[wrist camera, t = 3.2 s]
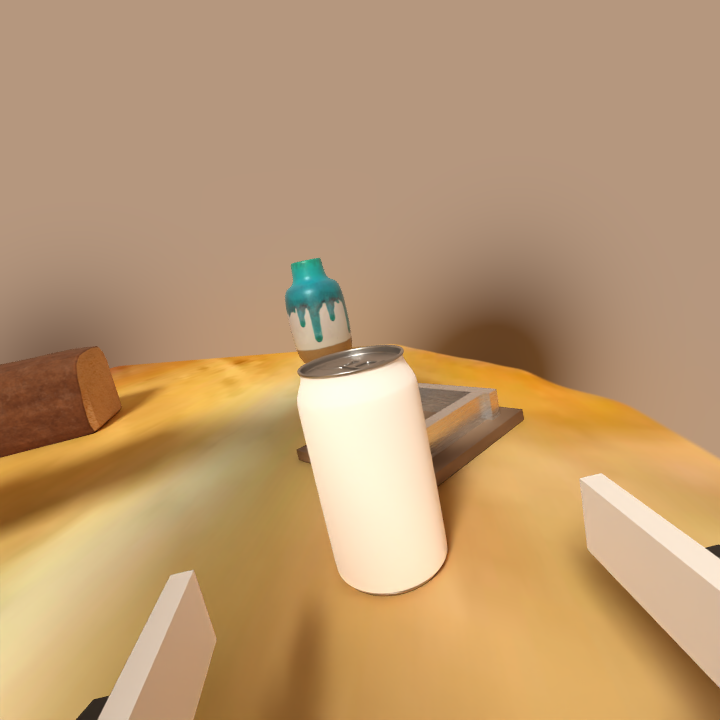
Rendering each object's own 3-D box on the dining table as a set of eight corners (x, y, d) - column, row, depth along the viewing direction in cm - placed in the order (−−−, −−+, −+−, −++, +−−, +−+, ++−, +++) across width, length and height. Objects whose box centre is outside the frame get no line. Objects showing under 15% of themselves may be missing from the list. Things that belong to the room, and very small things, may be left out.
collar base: (298, 459, 42) (296, 449, 42) (402, 404, 52) (400, 395, 51) (419, 500, 31) (417, 487, 31) (523, 419, 40) (522, 409, 40)
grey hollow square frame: (318, 444, 42) (313, 419, 42) (398, 402, 49) (394, 381, 49) (420, 471, 33) (414, 440, 32) (500, 415, 40) (496, 388, 39)
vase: (336, 372, 74) (311, 258, 70) (289, 375, 80) (263, 269, 76) (367, 355, 83) (346, 252, 79) (322, 358, 89) (300, 263, 85)
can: (390, 514, 30) (354, 342, 27) (472, 545, 25) (437, 342, 23) (315, 569, 26) (265, 375, 23) (395, 621, 21) (343, 382, 19)
